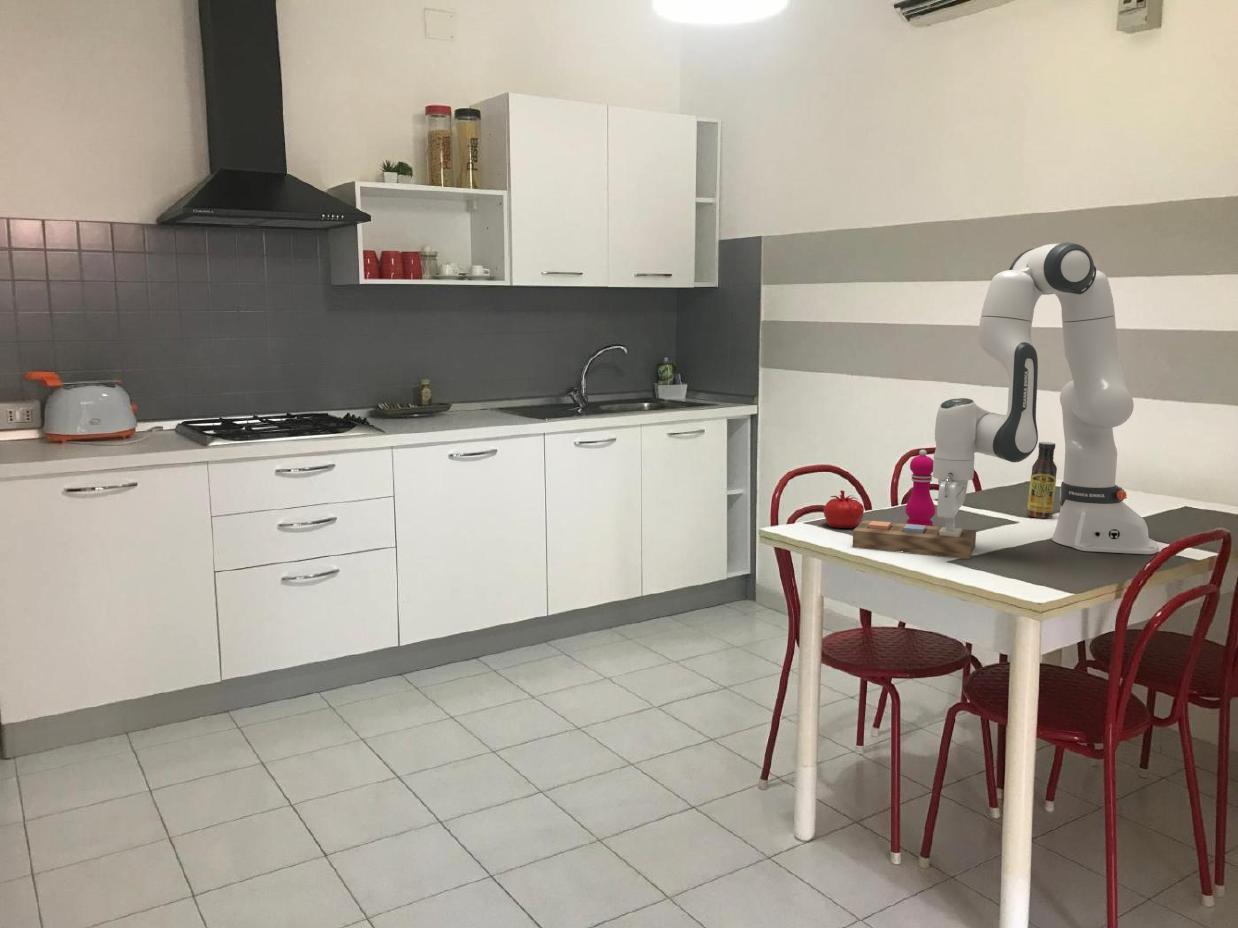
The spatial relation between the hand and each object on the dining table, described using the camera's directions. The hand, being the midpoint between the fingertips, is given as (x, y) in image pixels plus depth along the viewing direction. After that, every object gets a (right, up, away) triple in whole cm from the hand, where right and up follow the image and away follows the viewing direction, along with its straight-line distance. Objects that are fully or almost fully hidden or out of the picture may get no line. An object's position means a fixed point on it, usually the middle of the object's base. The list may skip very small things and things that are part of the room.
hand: (949, 529), depth 230 cm
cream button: (0, -4, 0) cm, 4 cm away
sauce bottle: (+36, +1, +35) cm, 50 cm away
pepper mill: (0, -1, +24) cm, 24 cm away
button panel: (-7, -4, +4) cm, 9 cm away
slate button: (-7, -3, +4) cm, 9 cm away
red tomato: (-19, -1, +26) cm, 32 cm away
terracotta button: (-14, -2, +7) cm, 16 cm away
